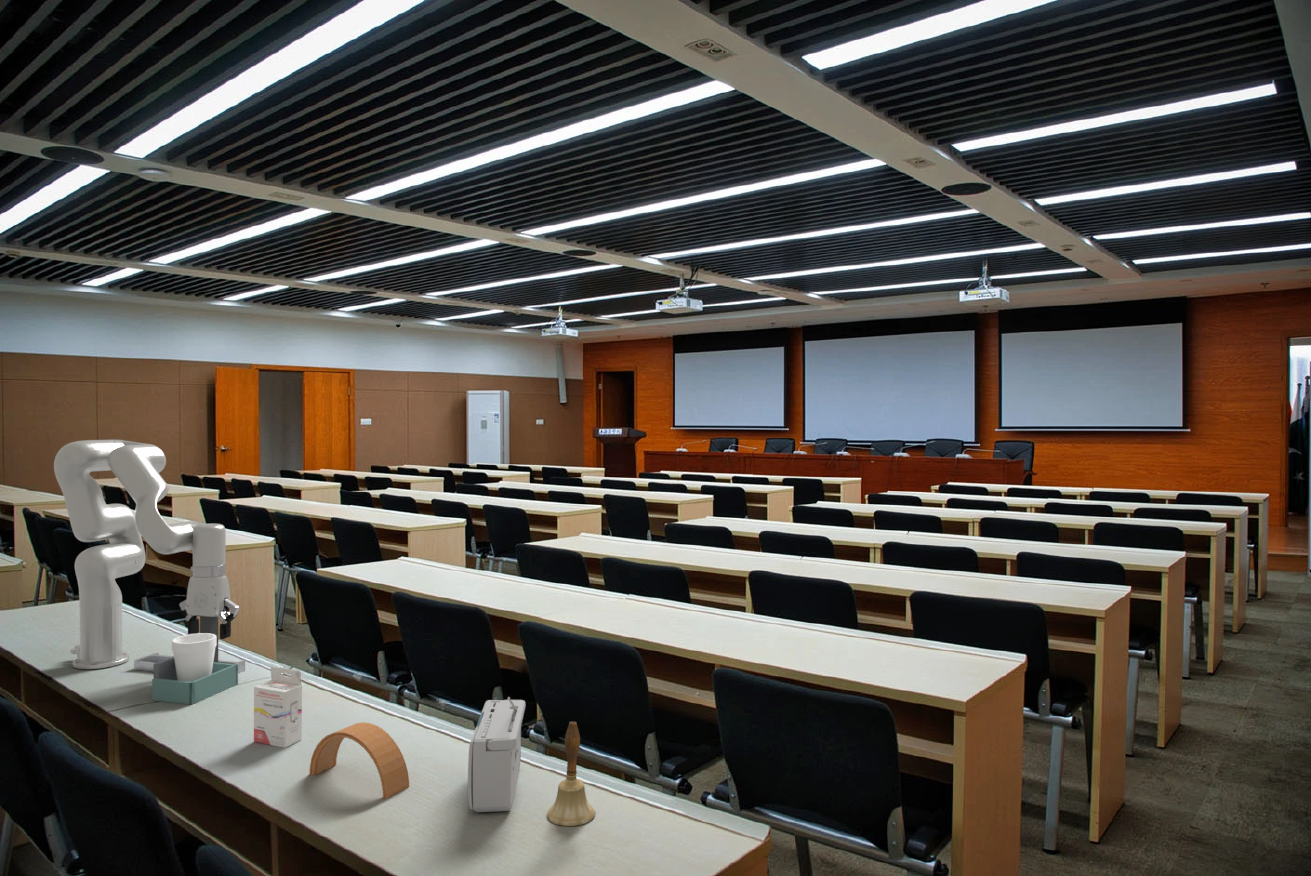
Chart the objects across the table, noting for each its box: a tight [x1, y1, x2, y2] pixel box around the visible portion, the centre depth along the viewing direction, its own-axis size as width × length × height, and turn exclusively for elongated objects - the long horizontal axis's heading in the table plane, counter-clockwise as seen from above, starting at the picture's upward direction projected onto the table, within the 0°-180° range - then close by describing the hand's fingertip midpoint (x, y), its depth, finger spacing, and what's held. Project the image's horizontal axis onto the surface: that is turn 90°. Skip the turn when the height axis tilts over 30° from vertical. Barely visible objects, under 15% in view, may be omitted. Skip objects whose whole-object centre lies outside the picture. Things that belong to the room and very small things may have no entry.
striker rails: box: [133, 652, 246, 674], centre depth 217 cm, size 28×7×2 cm, turn 77°
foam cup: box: [171, 632, 217, 682], centre depth 201 cm, size 10×9×13 cm
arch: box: [309, 721, 410, 800], centre depth 154 cm, size 6×20×10 cm, turn 61°
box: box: [151, 662, 239, 705], centre depth 200 cm, size 11×15×5 cm
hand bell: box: [546, 721, 596, 827], centre depth 142 cm, size 8×8×16 cm
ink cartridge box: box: [253, 666, 303, 749], centre depth 171 cm, size 9×5×15 cm, turn 71°
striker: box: [153, 616, 219, 680], centre depth 207 cm, size 5×21×17 cm, turn 167°
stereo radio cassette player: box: [467, 696, 526, 814], centre depth 151 cm, size 21×8×20 cm, turn 4°
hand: (209, 636), depth 216 cm, fingers open, 9 cm apart
